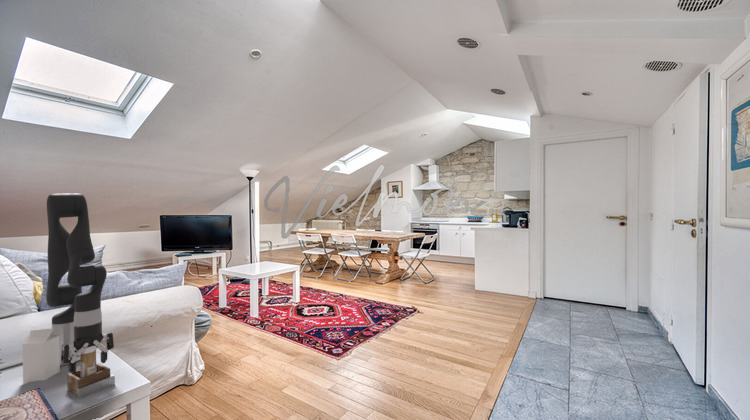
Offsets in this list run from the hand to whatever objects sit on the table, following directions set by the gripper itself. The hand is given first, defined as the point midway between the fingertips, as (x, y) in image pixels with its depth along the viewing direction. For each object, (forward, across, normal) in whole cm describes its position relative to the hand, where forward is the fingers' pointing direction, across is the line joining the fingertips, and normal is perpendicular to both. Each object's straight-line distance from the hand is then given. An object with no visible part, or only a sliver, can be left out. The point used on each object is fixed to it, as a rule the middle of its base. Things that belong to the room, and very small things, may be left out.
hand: (88, 367), depth 117 cm
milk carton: (+8, -5, +26) cm, 28 cm away
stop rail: (+7, 0, -6) cm, 9 cm away
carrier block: (+7, 0, 0) cm, 7 cm away
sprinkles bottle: (+6, 0, 0) cm, 6 cm away
